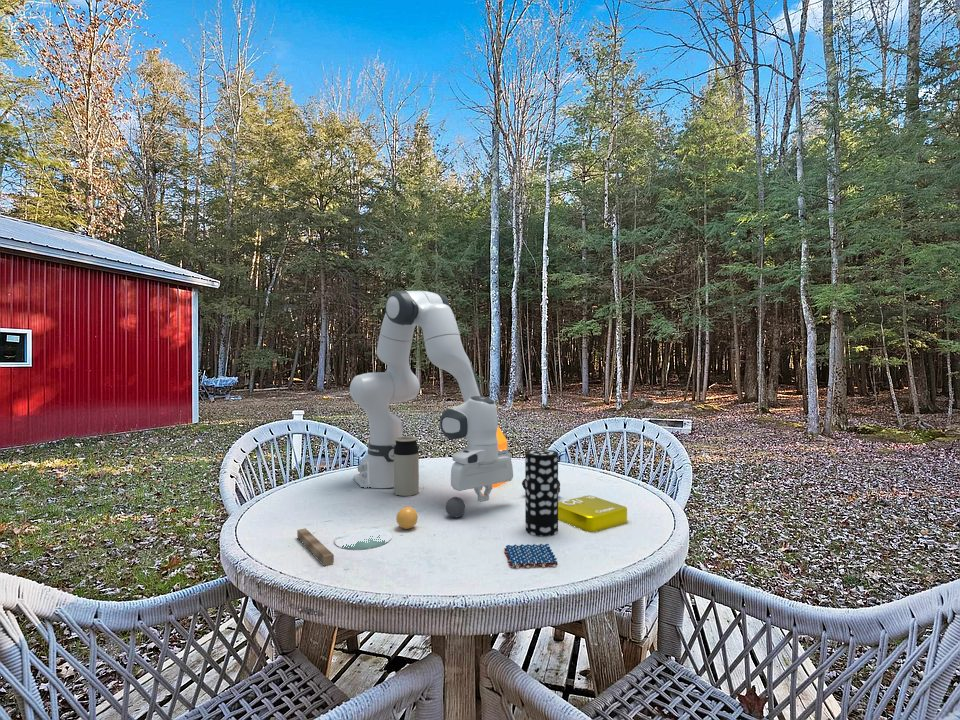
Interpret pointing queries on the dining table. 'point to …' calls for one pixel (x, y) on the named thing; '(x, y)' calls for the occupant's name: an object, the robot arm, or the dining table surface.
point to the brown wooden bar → (315, 547)
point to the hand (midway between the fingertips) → (483, 500)
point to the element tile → (591, 513)
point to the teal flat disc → (366, 544)
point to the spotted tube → (541, 492)
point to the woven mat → (530, 556)
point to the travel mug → (406, 466)
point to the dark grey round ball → (455, 507)
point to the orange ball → (407, 517)
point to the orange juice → (500, 447)
